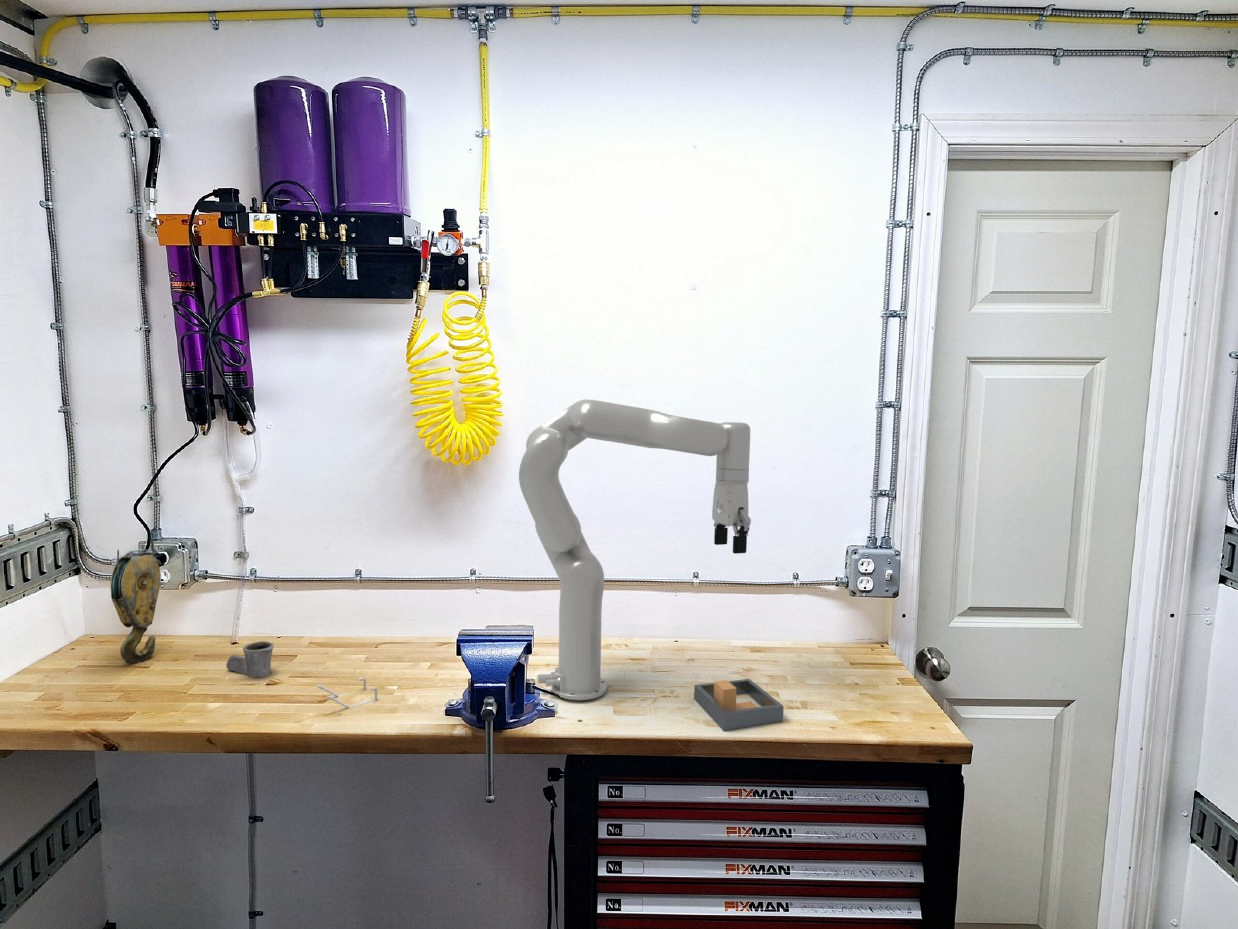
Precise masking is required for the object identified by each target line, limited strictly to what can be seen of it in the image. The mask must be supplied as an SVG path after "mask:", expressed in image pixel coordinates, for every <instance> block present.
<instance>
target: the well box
mask: <svg viewBox="0 0 1238 929" xmlns="http://www.w3.org/2000/svg"><path fill="white" fill-rule="evenodd" d="M728 681H729V682H730V683H731V684H732V685H733V686H734V687H736V696H740V695H746V694H747V695H748V696H749V697H750V698H751V699H752V700H753V701H755V702H756V703H757V704H758V705H759V706H757V707H754V708H746V709H738V710H730V711H726V710H725V709H724V708H723V707H722V706H721V705H720V704H719V703H718V702H717V701H716V700H715V699H714V682H710V683H700V684H699V683H698V684H694V687H693V688H694V690H693V691H694V692H693V693H694V695H693V699H694V701H695V702H696V703H697V704H698V705H699V706H700V707H701V708H702V709H703V711H704V712H706V714H707V715H708V716H709V718H711V719H712V721H714V723H715V724H716V725H717V726H718V727H719V728H720V730H721V731H722V732H730V731H736V730H743V729H749V728H753V727H755V728H756V727H761V726H767V725H773V724H780V723H784V709H785V708H784V705H783V704H782V703H780V702H779V701H778V700H777V699H776V698H774V697H773V696H771V695H770V694H769V693H768V692H767V691H765V690H764V689H762V687H760V686H759V685H758V684H757V683H755V682H754V681H753V680H752V679H751V678H744V679H737V680H735V679H733V680H728Z"/></svg>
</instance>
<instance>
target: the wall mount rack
mask: <svg viewBox="0 0 1238 929" xmlns="http://www.w3.org/2000/svg"><path fill="white" fill-rule="evenodd" d="M358 681H363V691H365V690H366V688H367V681H366V678H365V677H360V678H358ZM317 688H318V689H319V690H323V691H324V692H327V693H328V694H330V695H328V696H327V698H328V700H330V701H333V702H334V703H337V704H338V705H341V706H343V707H345V708H346V709H350V708H354V707H357V706H361V705H363V704H364V705H365V704H368V703H371V702H375V701H377V700H378V688H376V687H374V686H373V687H369V690H370V691H374V699H372V700H368V701H364V702H361V703H358V704H357V703H356V704H353V705H350V706H349V705H347V704H345V703H343V702H342V701H339V700H338V699H335V698H334V697H336V698H340V697H342V696H346V695H350V694H353V693H354V691H353V692H352V691H351V692H348V693H345V694H340V695H339V694H337V693H335V692H333V691H331V690H329V689H327V688H325V687H324V686H323V685H320V684H317ZM356 692H357V691H355V693H356ZM331 695H333V696H331Z"/></svg>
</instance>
